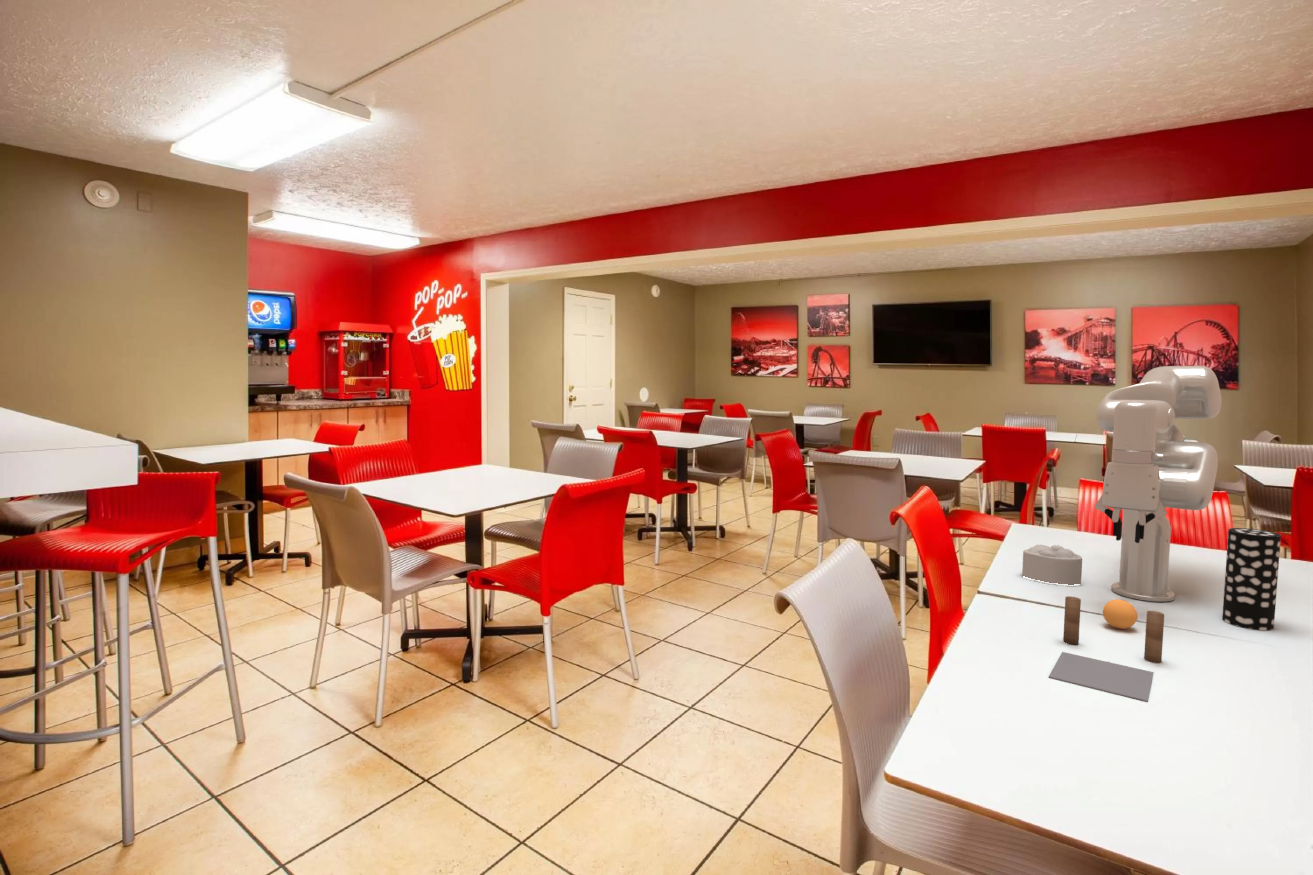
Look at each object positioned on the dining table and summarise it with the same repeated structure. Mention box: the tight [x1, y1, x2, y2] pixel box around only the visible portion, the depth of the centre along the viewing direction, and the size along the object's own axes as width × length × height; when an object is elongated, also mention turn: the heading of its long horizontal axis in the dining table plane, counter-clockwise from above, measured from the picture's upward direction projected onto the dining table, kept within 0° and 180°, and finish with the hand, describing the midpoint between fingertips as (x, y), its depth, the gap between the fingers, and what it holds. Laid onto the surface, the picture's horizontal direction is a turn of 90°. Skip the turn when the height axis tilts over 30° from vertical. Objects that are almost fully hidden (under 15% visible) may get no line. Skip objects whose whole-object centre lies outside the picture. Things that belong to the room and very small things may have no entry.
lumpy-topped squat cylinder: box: [1021, 544, 1083, 585], centre depth 174 cm, size 10×13×9 cm
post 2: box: [1143, 610, 1165, 664], centre depth 123 cm, size 3×3×9 cm
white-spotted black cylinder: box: [1221, 527, 1282, 631], centre depth 141 cm, size 8×8×20 cm
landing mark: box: [1048, 651, 1154, 703], centre depth 117 cm, size 14×14×1 cm
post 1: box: [1062, 595, 1082, 646], centre depth 131 cm, size 3×3×9 cm
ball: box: [1102, 598, 1138, 630], centre depth 139 cm, size 6×6×6 cm
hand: (1127, 539), depth 145 cm, fingers open, 2 cm apart
